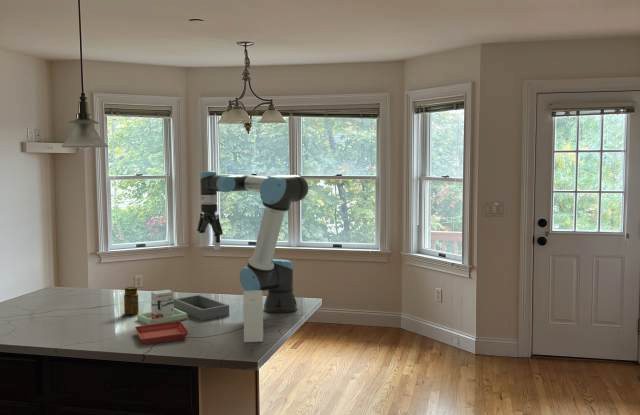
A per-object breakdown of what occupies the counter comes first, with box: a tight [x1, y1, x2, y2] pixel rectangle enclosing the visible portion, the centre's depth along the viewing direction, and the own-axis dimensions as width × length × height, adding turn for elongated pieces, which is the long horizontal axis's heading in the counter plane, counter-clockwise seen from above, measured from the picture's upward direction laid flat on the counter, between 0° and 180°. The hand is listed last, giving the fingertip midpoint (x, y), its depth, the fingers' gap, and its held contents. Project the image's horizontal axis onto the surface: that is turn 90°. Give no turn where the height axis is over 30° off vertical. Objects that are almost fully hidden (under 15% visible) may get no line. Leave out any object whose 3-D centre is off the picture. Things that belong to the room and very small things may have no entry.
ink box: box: [150, 289, 175, 319], centre depth 255 cm, size 8×5×12 cm, turn 127°
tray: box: [136, 308, 189, 325], centre depth 256 cm, size 13×17×2 cm
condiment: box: [122, 286, 141, 318], centre depth 264 cm, size 7×8×12 cm
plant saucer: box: [134, 320, 190, 345], centre depth 231 cm, size 18×18×3 cm
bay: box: [174, 294, 230, 321], centre depth 269 cm, size 27×14×4 cm, turn 40°
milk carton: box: [242, 290, 264, 343], centre depth 226 cm, size 7×7×19 cm
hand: (210, 247), depth 284 cm, fingers open, 13 cm apart
